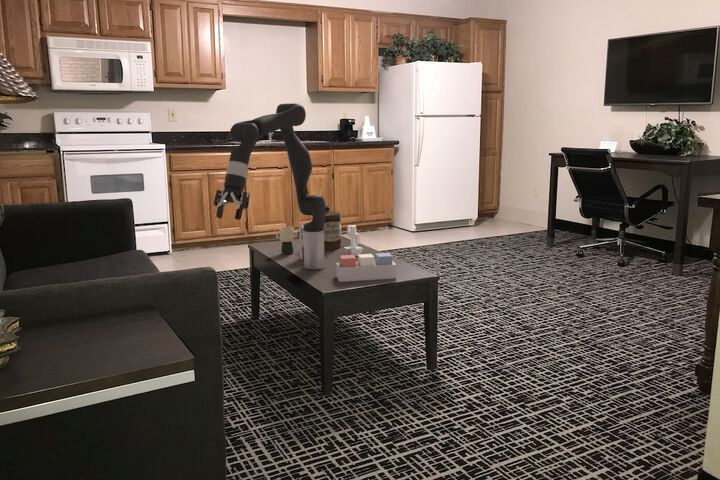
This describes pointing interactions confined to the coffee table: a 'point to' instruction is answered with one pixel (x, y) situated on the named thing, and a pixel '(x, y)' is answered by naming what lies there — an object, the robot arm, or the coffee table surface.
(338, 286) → the coffee table surface
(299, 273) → the coffee table surface
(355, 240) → the figurine
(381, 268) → the control box
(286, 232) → the character mug
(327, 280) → the coffee table surface
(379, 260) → the blue key
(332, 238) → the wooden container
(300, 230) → the candy bar box
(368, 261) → the cream white block
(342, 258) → the red key
